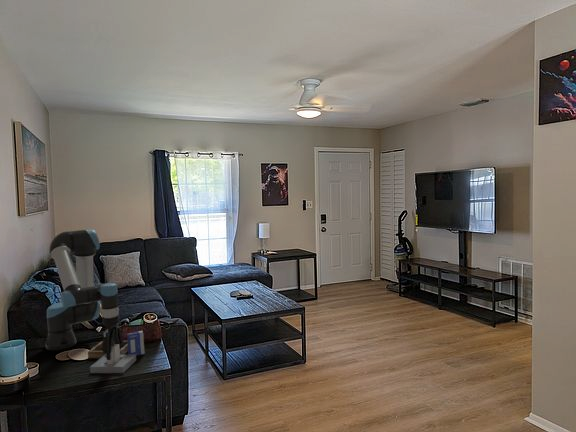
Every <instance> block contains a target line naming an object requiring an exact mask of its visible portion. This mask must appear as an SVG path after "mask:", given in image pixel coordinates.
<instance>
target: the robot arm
mask: <svg viewBox="0 0 576 432" xmlns="http://www.w3.org/2000/svg"><path fill="white" fill-rule="evenodd" d="M100 246H101V245H100V240H99V236H98V233H97V232H96V230H94V229H80V230H70V231H63V232H61V233H58V234H57V235H56V236H55V237H54V238H53V239H52V241H51V242H50V245H49V255H50V257H51V258H52V259H53V261H54V264H55V266H56V270H57V273H58V275H59V276H58V277H59V279H60V282H61V285H62V289H63V291H62V292H61V293H60V300H61V302H57V303H54V304H52V305H50V306H48V308H47V309H46V321H47V322H46V323H47V338H46V342H45V350H47V351H61V350H65V349H69V348H71V347H73V346H75V345H77V338H76V335H75V333H74V331H73V328H72V326H73V325H77V324H82V323H85V322H92V321H93V320H97V319H98V318H99V317H100V315H101V317H102V318H101V320H102V321H101V322H102V326H104V327H105V329H104V331H103V332H102V333H101V336H102V341H103V349H102V351H103V353H106V359H107V364H113V355H112V352H111V348H112V339H113V341H114V344H119V349H120V346H121V345H122V340H123V339H122V331H121V323H120V315H119V314H120V313H119V312H120V308H119V296H118V292H119V290H118V286H117V284H116V283H114V282H109V283H108V282H107V283H96V284H95V285H94V256H95V255H96V254H97V250H99V249H100V248H101V247H100ZM71 254H72V256H73V257H75V265H74V263H73V259H72V256H71Z"/></svg>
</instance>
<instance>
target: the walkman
mask: <svg viewBox="0 0 576 432" xmlns="http://www.w3.org/2000/svg"><path fill="white" fill-rule="evenodd" d="M144 340H145V334H144V331H143V330H139V331H134V332H129V333H126V341H127V345H128V352H127V355H136V357H137V356H138V357H139V356H142V355H145V353H146V352H145V343H144V342H145V341H144Z"/></svg>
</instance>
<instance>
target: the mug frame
mask: <svg viewBox="0 0 576 432" xmlns="http://www.w3.org/2000/svg"><path fill="white" fill-rule="evenodd" d="M123 341H124V342H125V344H124V345H125V346H124V347H123V348H121V349H120V355H127V354H128V345H127V340H123ZM104 355H106V353H103V340H102V341H100V342H99V343H98V344H96V345H95V346H93V347H92V348H91V349H90V350H88V351H87V359H100V358H102V357H103V356H104Z"/></svg>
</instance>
